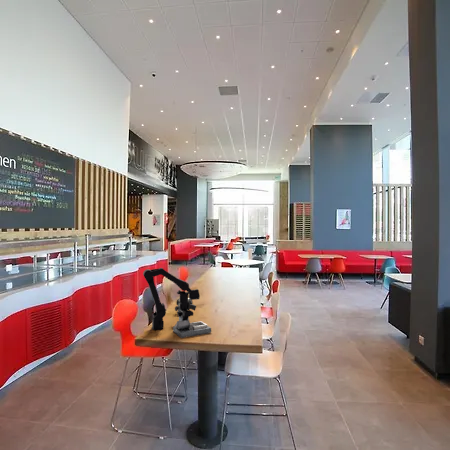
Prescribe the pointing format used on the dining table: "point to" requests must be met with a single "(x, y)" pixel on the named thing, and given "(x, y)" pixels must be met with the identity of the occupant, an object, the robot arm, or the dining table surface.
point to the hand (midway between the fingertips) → (183, 323)
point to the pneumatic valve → (179, 300)
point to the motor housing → (190, 328)
